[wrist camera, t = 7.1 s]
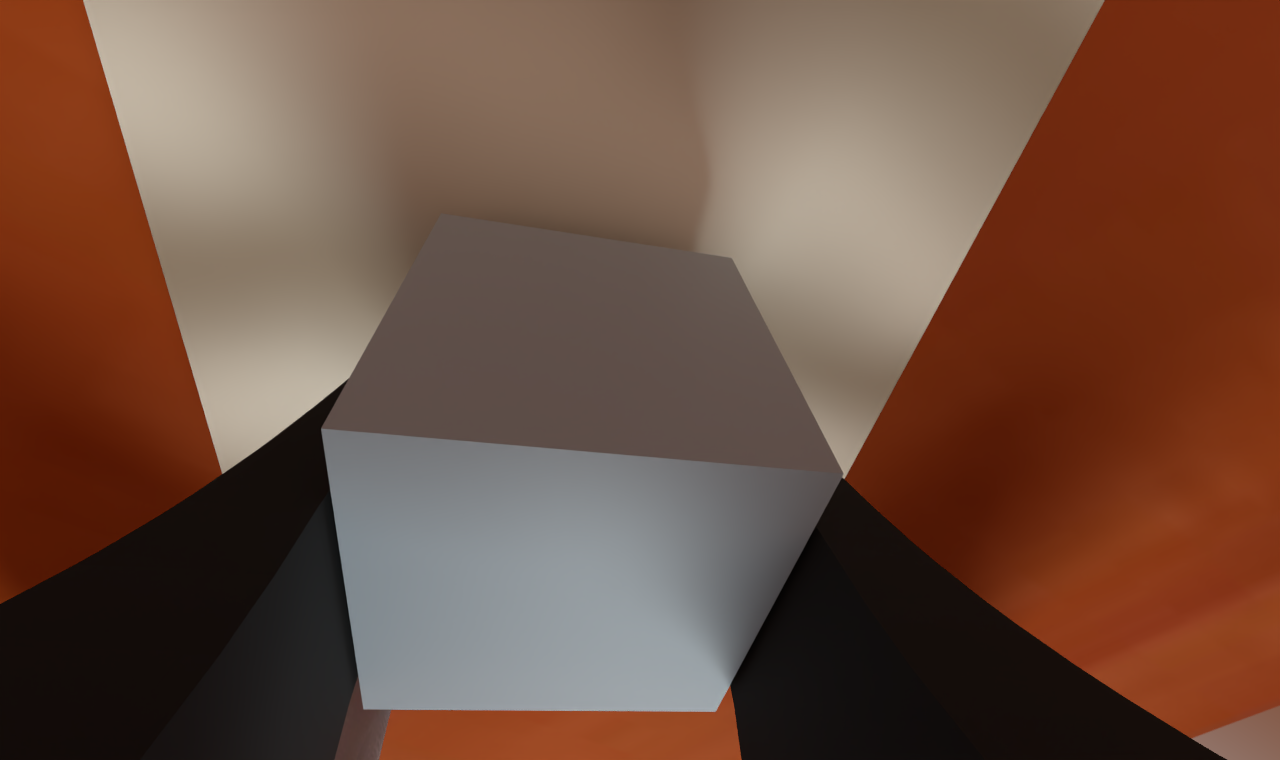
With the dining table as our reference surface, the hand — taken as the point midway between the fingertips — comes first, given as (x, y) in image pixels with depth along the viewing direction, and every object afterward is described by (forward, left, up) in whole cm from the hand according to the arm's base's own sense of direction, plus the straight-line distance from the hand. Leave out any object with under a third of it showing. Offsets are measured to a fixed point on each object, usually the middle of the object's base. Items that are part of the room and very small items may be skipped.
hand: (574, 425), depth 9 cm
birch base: (0, 0, -5) cm, 5 cm away
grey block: (0, 0, -2) cm, 2 cm away
